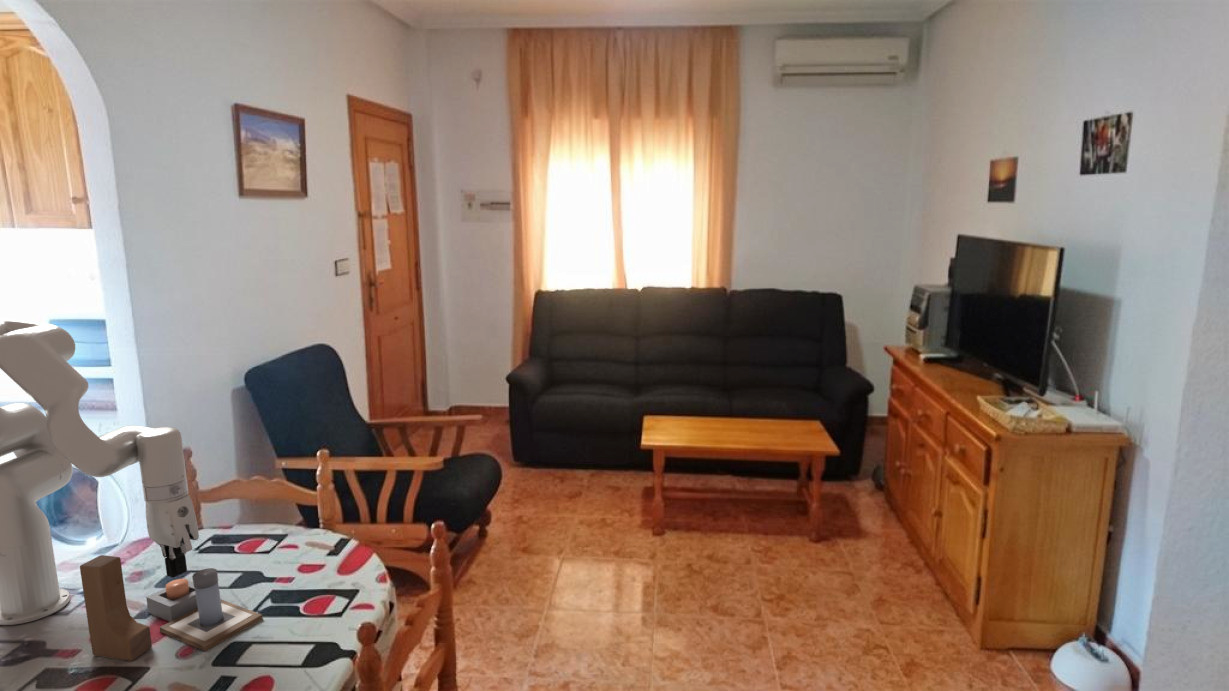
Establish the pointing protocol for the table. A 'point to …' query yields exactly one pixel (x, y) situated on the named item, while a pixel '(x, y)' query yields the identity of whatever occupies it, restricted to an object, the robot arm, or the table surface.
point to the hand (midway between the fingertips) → (177, 573)
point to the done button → (177, 589)
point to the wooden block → (111, 611)
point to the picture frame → (211, 626)
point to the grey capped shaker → (208, 596)
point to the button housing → (171, 604)
